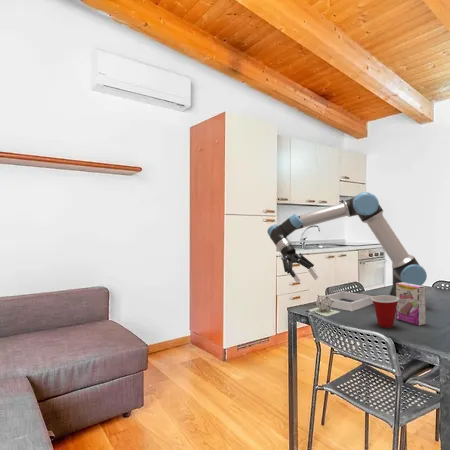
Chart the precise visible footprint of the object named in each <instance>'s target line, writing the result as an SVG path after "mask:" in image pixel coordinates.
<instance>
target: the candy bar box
mask: <svg viewBox="0 0 450 450" xmlns="http://www.w3.org/2000/svg"><path fill="white" fill-rule="evenodd" d="M426 296H427V295H426V286H424V285H421V286H419V285H414V284H409V283H404V282H401V283H396V297H398V298H399V301H398V303H397V307H396V314H395V320H398V321H401V322H404V323H408V324H412V325H416V326H418V327H419V326H423V325H426V324H427V323H426V319H427V318H426V305H427V303H426V301H427V300H426Z"/></svg>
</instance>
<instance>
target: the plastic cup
mask: <svg viewBox="0 0 450 450" xmlns="http://www.w3.org/2000/svg"><path fill="white" fill-rule="evenodd" d="M371 300H372V301H373V307H374V311H375V315H376V316H375V317H376V320H377V324H378V327H381V328H389V329H390V328H393V327H394V325H395V324H394V323H395V320H396V307H397V303H398V301H399V298H398V297H395V296H389V294H388V295H387V294H386V295H375V296H374V295H373V297H372V298H371Z"/></svg>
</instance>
